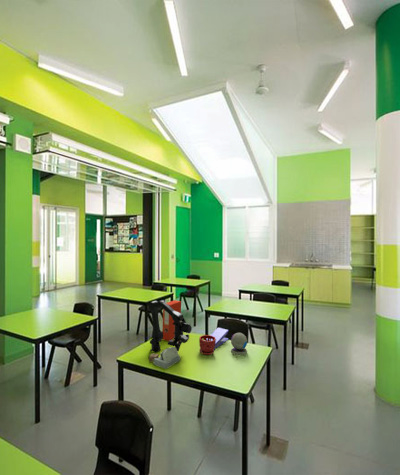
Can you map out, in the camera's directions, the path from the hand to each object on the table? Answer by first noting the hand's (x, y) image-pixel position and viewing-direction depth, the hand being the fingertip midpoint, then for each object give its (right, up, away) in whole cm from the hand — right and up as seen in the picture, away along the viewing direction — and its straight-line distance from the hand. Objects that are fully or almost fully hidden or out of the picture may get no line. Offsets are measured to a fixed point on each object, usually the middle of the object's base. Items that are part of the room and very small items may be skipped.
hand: (177, 351), depth 209 cm
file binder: (-9, -4, +40) cm, 41 cm away
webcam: (+49, -6, +12) cm, 50 cm away
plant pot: (+23, -5, +8) cm, 25 cm away
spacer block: (-17, -4, -8) cm, 19 cm away
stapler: (+31, -6, +29) cm, 43 cm away
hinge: (-5, -4, -8) cm, 10 cm away
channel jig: (-7, -4, -10) cm, 13 cm away
